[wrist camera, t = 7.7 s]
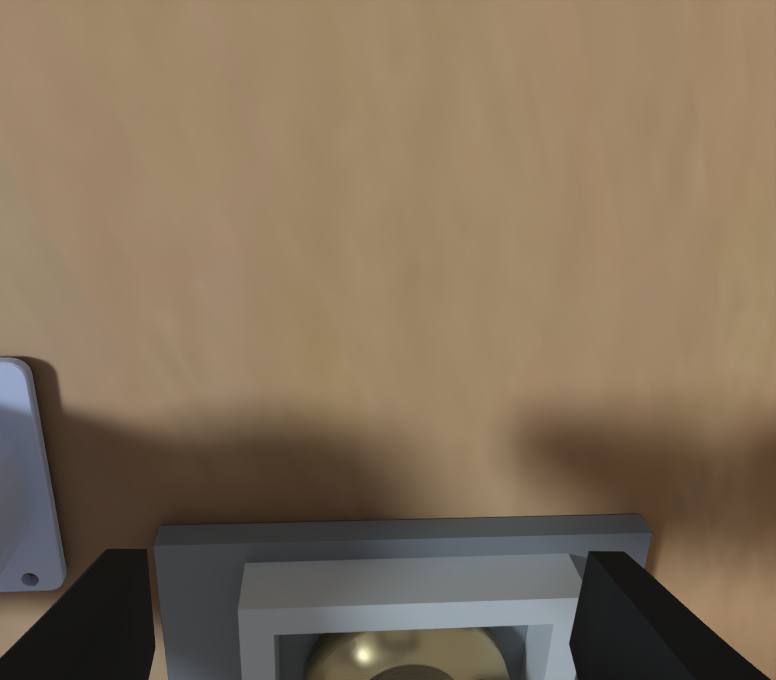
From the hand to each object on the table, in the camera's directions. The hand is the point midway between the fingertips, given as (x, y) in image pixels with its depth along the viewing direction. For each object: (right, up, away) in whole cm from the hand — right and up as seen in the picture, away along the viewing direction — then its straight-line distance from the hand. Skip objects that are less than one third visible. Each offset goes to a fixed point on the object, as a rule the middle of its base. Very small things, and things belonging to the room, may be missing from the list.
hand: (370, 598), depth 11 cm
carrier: (+1, -10, +15) cm, 18 cm away
